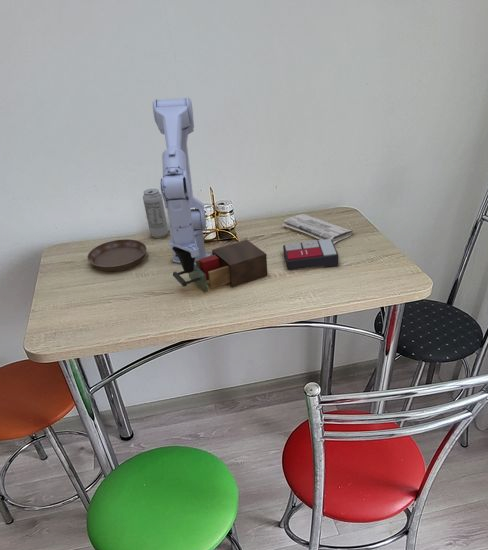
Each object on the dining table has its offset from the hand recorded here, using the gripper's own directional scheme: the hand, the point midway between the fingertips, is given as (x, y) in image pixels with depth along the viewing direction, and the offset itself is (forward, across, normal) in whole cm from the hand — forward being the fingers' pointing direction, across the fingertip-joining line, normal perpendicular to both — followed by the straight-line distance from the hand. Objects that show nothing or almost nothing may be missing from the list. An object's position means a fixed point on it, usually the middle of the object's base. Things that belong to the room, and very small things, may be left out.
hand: (188, 271), depth 131 cm
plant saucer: (+6, -29, -12) cm, 32 cm away
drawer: (+5, 0, +4) cm, 6 cm away
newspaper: (+6, -11, +50) cm, 52 cm away
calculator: (+6, +5, +36) cm, 37 cm away
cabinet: (+6, 0, +15) cm, 16 cm away
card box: (+4, 0, +6) cm, 7 cm away
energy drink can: (+6, -40, +6) cm, 40 cm away
